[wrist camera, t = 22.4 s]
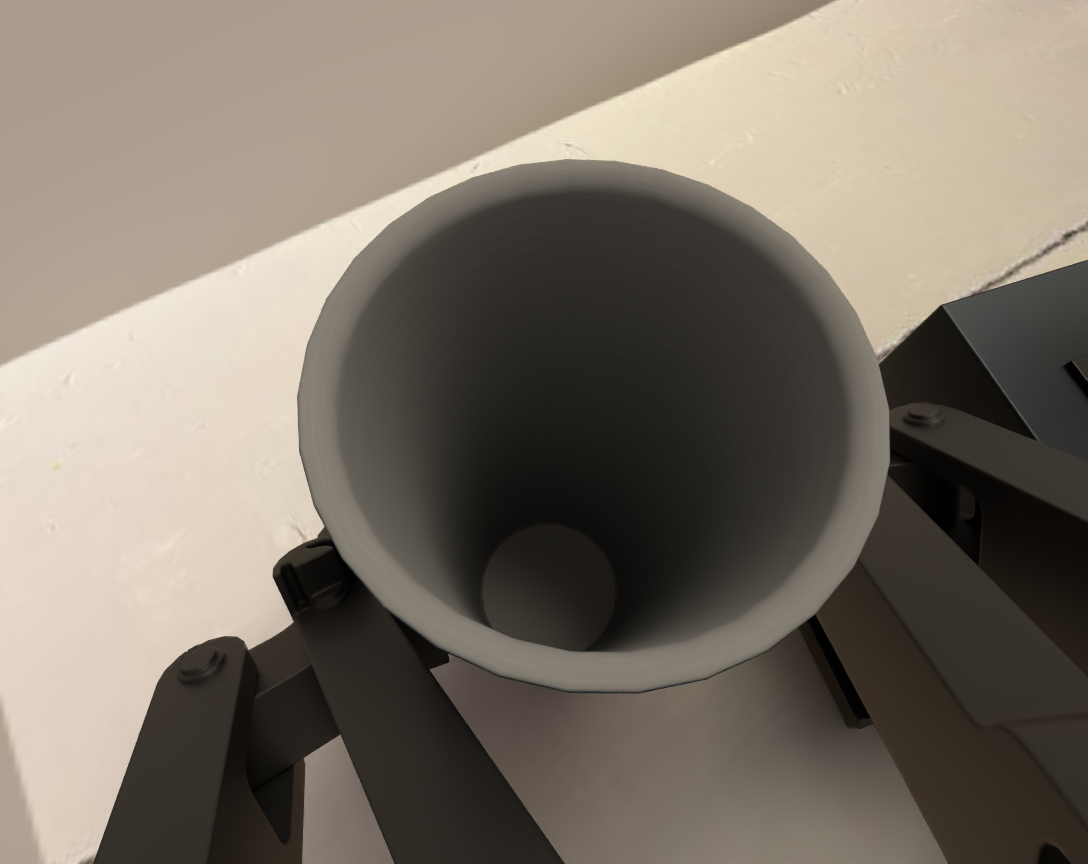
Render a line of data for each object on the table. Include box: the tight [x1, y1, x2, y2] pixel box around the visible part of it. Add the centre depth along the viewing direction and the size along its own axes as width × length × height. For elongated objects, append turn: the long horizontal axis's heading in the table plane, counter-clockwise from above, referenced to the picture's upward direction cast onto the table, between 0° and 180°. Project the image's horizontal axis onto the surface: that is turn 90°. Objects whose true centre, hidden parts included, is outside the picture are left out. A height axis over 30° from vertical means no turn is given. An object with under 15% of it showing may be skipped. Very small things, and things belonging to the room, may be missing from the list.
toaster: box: [799, 260, 1088, 729], centre depth 17 cm, size 13×8×12 cm
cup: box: [297, 159, 890, 693], centre depth 14 cm, size 7×7×15 cm
